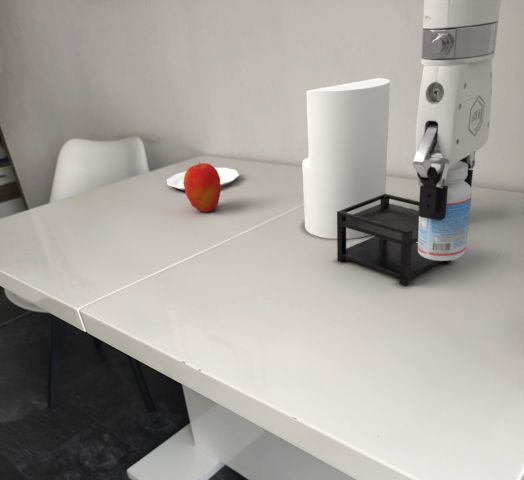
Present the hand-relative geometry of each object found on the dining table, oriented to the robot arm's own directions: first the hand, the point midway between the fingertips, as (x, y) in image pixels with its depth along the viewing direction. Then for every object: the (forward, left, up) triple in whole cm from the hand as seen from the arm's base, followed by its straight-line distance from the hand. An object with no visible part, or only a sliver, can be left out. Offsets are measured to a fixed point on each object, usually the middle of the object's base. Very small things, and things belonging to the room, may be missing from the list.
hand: (444, 207), depth 67 cm
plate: (+92, -41, -19) cm, 102 cm away
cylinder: (+37, -32, -19) cm, 53 cm away
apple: (+73, -24, -19) cm, 79 cm away
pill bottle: (0, 0, -6) cm, 6 cm away
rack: (+18, -20, -19) cm, 33 cm away
